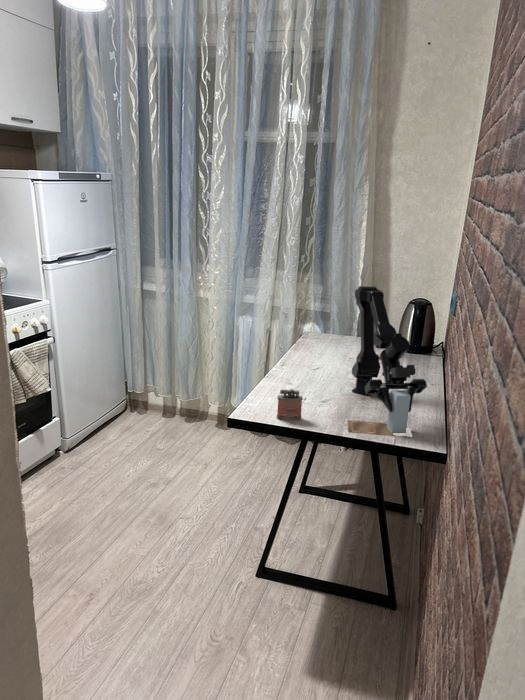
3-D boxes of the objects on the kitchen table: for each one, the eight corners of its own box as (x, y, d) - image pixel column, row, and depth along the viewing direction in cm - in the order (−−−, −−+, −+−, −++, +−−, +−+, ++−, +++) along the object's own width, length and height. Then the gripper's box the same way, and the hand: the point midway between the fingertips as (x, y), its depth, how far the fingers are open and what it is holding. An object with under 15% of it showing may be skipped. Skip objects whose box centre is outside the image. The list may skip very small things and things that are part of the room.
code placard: (409, 425, 174) (409, 425, 174) (413, 438, 166) (413, 437, 166) (347, 420, 176) (347, 420, 176) (348, 432, 168) (348, 432, 168)
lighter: (300, 416, 178) (302, 388, 175) (301, 420, 175) (303, 391, 172) (276, 415, 178) (277, 387, 175) (276, 420, 175) (278, 391, 172)
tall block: (386, 427, 172) (391, 390, 169) (400, 426, 173) (404, 390, 169) (392, 433, 168) (396, 396, 164) (405, 432, 169) (410, 395, 165)
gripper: (371, 355, 166) (380, 402, 159) (428, 354, 169) (439, 401, 161) (360, 370, 176) (368, 416, 168) (415, 370, 178) (425, 414, 171)
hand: (400, 411), depth 167 cm, fingers open, 6 cm apart
